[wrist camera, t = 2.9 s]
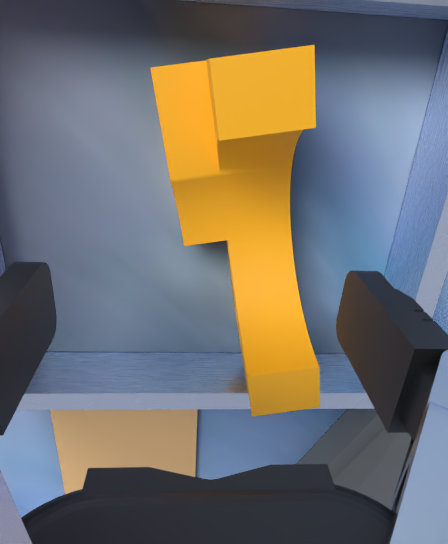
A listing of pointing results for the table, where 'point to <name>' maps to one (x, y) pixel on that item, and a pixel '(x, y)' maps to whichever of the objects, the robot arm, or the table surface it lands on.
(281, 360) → the yellow curved stepped piece
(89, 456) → the tan rectangular plate
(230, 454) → the table surface
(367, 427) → the grey bevelled block
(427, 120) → the case
